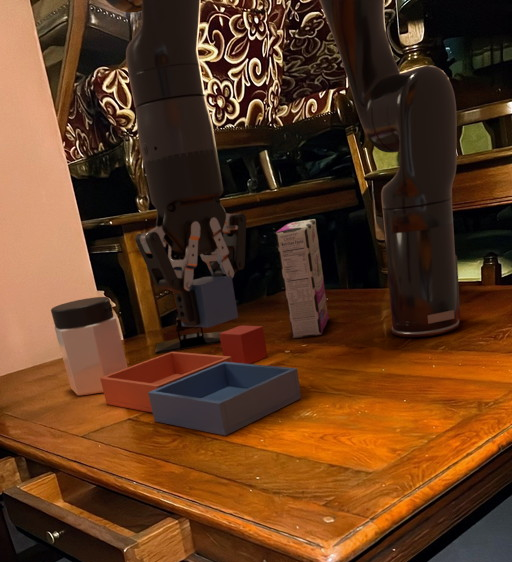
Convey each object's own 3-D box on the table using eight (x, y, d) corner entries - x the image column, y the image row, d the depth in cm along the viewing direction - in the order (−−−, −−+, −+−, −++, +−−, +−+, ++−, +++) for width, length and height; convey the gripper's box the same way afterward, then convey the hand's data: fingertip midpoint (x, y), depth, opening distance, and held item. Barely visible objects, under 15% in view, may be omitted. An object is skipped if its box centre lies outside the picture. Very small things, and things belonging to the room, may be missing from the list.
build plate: (155, 354, 114) (149, 327, 112) (157, 345, 121) (151, 319, 119) (229, 340, 114) (224, 312, 112) (227, 332, 121) (222, 305, 119)
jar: (136, 384, 98) (117, 299, 93) (80, 399, 95) (57, 312, 90) (120, 373, 105) (101, 294, 101) (67, 387, 102) (45, 306, 98)
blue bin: (229, 388, 88) (224, 361, 87) (301, 398, 80) (297, 368, 78) (154, 421, 80) (147, 392, 79) (225, 436, 72) (219, 403, 71)
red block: (246, 355, 103) (241, 325, 101) (267, 356, 100) (262, 326, 98) (224, 363, 100) (218, 333, 99) (246, 365, 97) (240, 334, 96)
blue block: (211, 316, 79) (204, 276, 77) (238, 317, 76) (231, 276, 74) (181, 326, 76) (173, 285, 75) (208, 327, 73) (200, 284, 72)
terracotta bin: (177, 376, 98) (172, 351, 97) (236, 383, 90) (231, 356, 88) (106, 404, 91) (99, 377, 89) (163, 414, 82) (157, 386, 81)
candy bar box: (300, 323, 118) (286, 223, 112) (329, 319, 117) (317, 218, 110) (290, 339, 108) (274, 230, 102) (322, 335, 107) (307, 225, 100)
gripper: (145, 153, 63) (182, 338, 69) (254, 140, 72) (278, 304, 78) (100, 164, 68) (138, 335, 74) (207, 150, 77) (233, 304, 83)
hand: (209, 318), depth 76 cm, fingers closed on blue block, 4 cm apart
